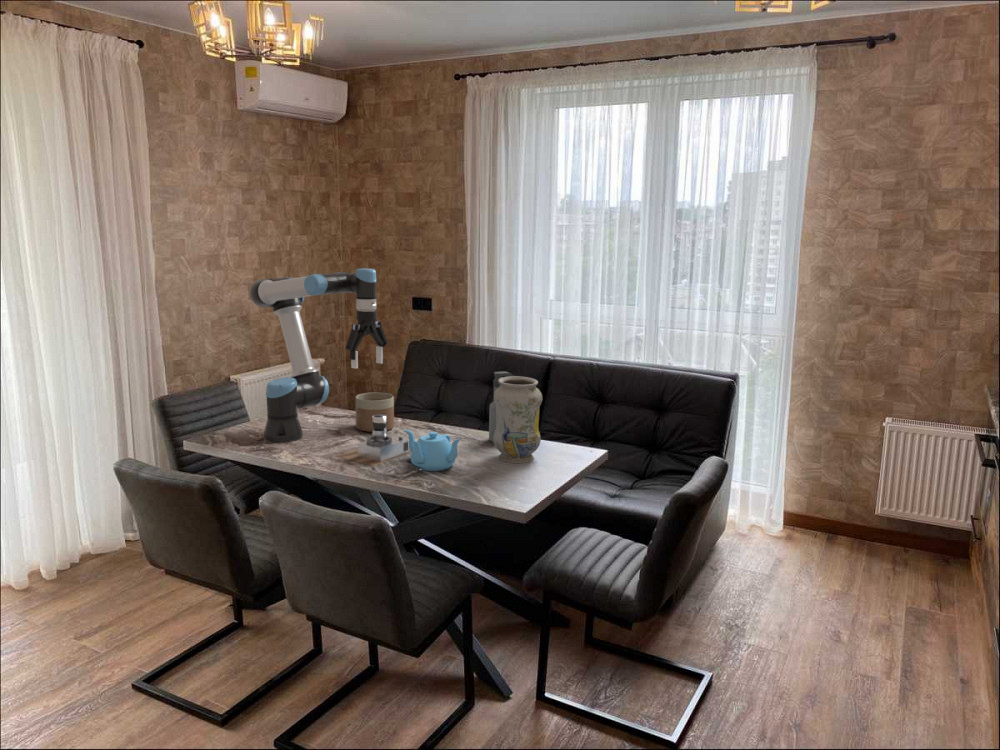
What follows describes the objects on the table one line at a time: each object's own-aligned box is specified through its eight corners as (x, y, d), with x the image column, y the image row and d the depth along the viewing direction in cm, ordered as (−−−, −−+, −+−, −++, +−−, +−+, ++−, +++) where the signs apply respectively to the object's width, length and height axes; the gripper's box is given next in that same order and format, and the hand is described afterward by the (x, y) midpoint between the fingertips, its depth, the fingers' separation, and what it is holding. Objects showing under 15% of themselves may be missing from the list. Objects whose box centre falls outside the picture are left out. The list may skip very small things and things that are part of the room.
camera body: (357, 456, 275) (357, 439, 274) (385, 447, 288) (385, 430, 286) (380, 462, 269) (380, 444, 268) (408, 452, 282) (408, 435, 280)
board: (335, 459, 276) (335, 456, 275) (373, 446, 292) (373, 443, 292) (374, 469, 265) (373, 465, 265) (410, 455, 282) (410, 452, 281)
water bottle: (507, 436, 311) (508, 369, 306) (518, 442, 302) (519, 373, 297) (485, 438, 307) (486, 371, 301) (495, 444, 298) (496, 375, 293)
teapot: (412, 475, 260) (412, 440, 258) (404, 459, 277) (404, 427, 275) (460, 471, 264) (461, 438, 262) (450, 456, 282) (450, 424, 280)
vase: (545, 465, 274) (547, 384, 268) (496, 466, 271) (498, 385, 265) (534, 450, 291) (537, 374, 285) (489, 452, 288) (490, 375, 282)
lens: (370, 441, 277) (370, 414, 275) (384, 440, 279) (384, 413, 277) (374, 445, 272) (374, 417, 271) (388, 443, 275) (388, 416, 273)
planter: (390, 433, 311) (390, 401, 309) (352, 432, 311) (352, 400, 309) (396, 423, 327) (396, 392, 324) (360, 422, 327) (359, 391, 324)
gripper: (350, 313, 271) (351, 371, 275) (396, 308, 291) (396, 362, 295) (335, 311, 275) (336, 369, 279) (381, 306, 295) (382, 360, 299)
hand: (367, 365), depth 287 cm, fingers open, 13 cm apart
